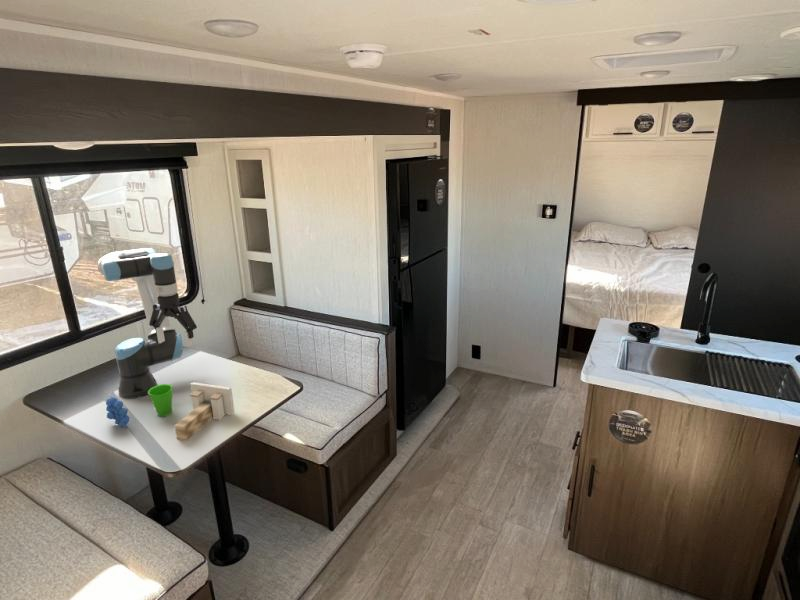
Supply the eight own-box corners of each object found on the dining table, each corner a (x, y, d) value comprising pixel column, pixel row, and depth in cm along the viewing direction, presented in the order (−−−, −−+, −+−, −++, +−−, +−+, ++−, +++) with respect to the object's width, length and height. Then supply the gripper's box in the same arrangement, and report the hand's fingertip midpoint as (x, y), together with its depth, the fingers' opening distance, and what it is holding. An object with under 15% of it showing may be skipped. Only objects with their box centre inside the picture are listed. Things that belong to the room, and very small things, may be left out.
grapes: (100, 426, 180) (93, 399, 176) (117, 417, 186) (111, 391, 182) (119, 434, 175) (112, 407, 171) (135, 425, 181) (130, 398, 177)
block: (207, 413, 189) (205, 400, 187) (216, 414, 188) (214, 401, 186) (177, 439, 173) (174, 425, 171) (186, 440, 172) (183, 426, 170)
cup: (151, 421, 184) (146, 397, 180) (153, 410, 191) (148, 386, 188) (176, 416, 187) (172, 392, 183) (177, 405, 195) (172, 382, 191)
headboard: (187, 414, 188) (183, 388, 184) (196, 407, 193) (192, 382, 189) (226, 421, 184) (222, 394, 180) (234, 413, 189) (231, 387, 185)
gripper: (133, 294, 178) (143, 344, 185) (188, 299, 172) (196, 350, 179) (147, 288, 185) (156, 337, 192) (201, 293, 179) (208, 343, 186)
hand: (176, 343), depth 185 cm, fingers open, 13 cm apart
